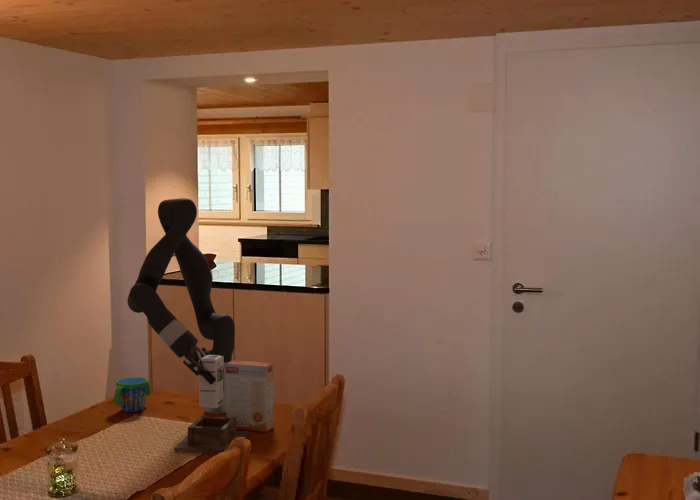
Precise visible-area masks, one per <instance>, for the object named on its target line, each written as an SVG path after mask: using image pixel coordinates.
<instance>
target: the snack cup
mask: <svg viewBox="0 0 700 500" xmlns="http://www.w3.org/2000/svg"><path fill="white" fill-rule="evenodd" d="M115 385H116V389H115V392H114V397H113V404H114V405H115V406H120V409H121V410H122V412H123V413H138V412H140V411H142V410H144V409H145V406H146V405H145V404H146V397H148V396H150V395H151V386H150V383H149V379H147V378H146V377H126V378H120V379H118V380H116V382H115Z"/></svg>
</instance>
